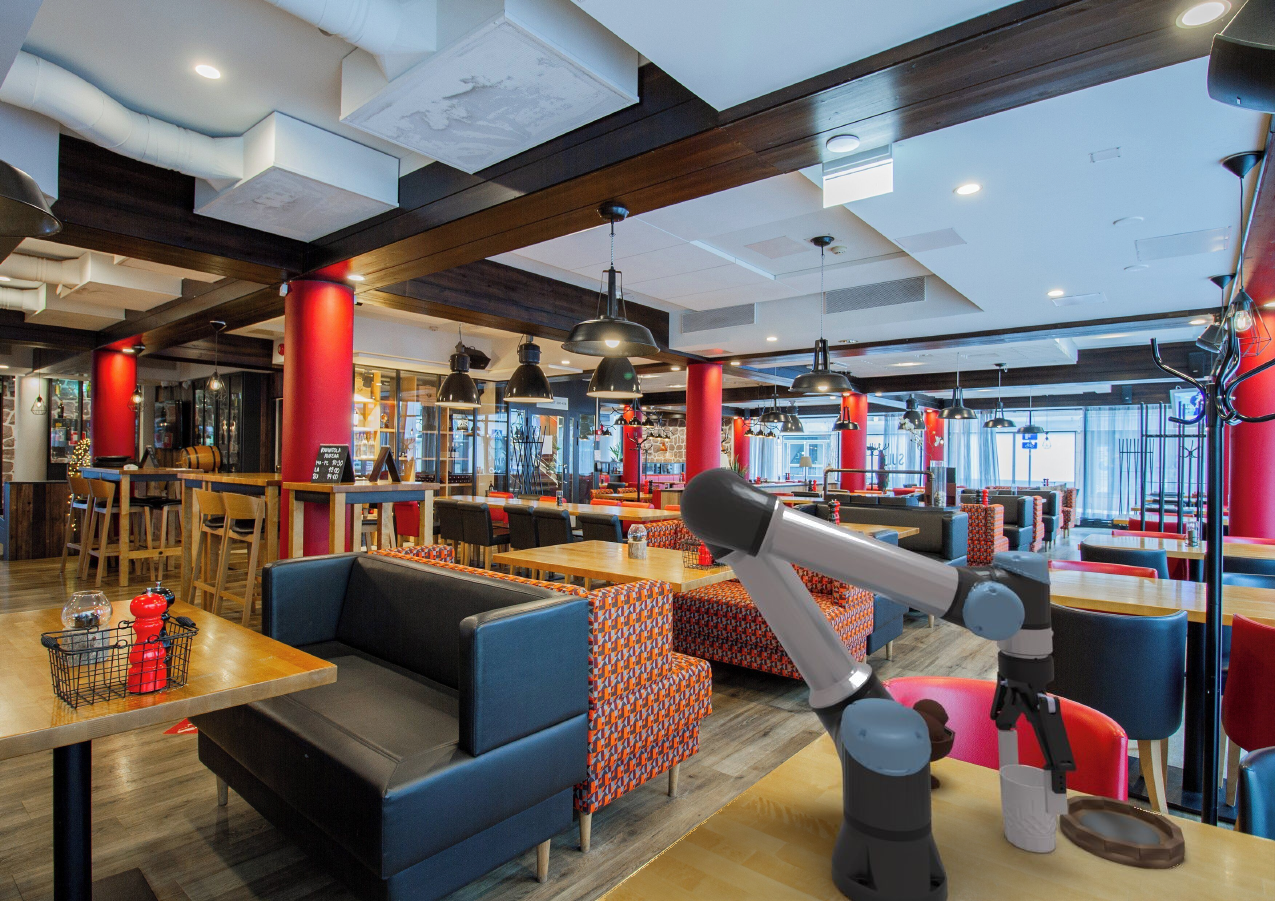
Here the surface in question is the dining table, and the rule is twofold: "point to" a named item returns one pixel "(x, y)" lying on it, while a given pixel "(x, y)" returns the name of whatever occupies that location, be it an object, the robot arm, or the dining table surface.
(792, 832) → the dining table surface
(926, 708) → the ice cream bowl
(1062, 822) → the tray
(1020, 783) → the white cup
